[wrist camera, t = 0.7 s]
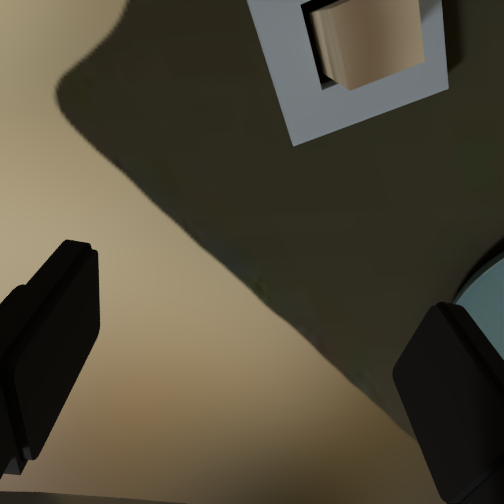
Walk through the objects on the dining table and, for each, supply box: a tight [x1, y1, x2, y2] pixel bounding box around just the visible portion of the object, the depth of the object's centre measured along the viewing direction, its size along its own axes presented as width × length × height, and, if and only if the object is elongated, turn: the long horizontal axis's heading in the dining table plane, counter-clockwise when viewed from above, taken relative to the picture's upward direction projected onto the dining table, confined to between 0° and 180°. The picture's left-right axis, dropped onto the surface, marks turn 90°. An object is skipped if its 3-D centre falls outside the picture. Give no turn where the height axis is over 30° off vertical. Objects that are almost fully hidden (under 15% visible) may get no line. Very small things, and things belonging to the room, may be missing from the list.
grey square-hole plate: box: [247, 0, 449, 146], centre depth 26 cm, size 12×12×2 cm
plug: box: [308, 0, 425, 91], centre depth 23 cm, size 4×4×9 cm
